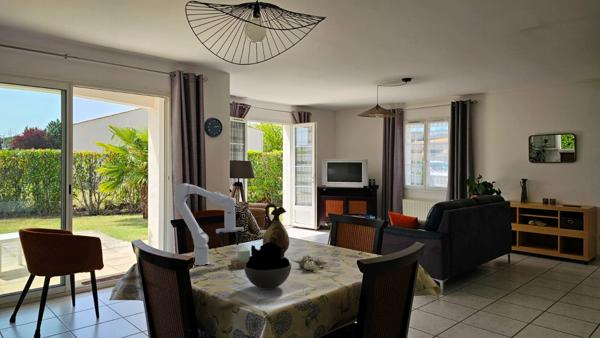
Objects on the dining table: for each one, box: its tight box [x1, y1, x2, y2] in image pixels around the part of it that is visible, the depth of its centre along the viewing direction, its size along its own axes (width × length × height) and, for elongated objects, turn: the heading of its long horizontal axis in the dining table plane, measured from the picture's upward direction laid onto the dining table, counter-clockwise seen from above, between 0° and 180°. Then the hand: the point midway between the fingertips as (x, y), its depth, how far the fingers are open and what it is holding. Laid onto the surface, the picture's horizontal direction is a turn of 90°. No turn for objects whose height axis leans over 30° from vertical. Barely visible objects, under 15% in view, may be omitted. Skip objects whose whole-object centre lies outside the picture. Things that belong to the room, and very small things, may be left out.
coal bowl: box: [243, 242, 292, 290], centre depth 171 cm, size 20×20×19 cm
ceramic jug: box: [262, 203, 290, 258], centre depth 233 cm, size 17×15×30 cm
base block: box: [230, 257, 249, 270], centre depth 210 cm, size 11×11×3 cm
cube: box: [237, 248, 251, 261], centre depth 210 cm, size 5×5×5 cm
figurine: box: [289, 254, 332, 272], centre depth 202 cm, size 20×6×17 cm
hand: (230, 245), depth 215 cm, fingers open, 7 cm apart
